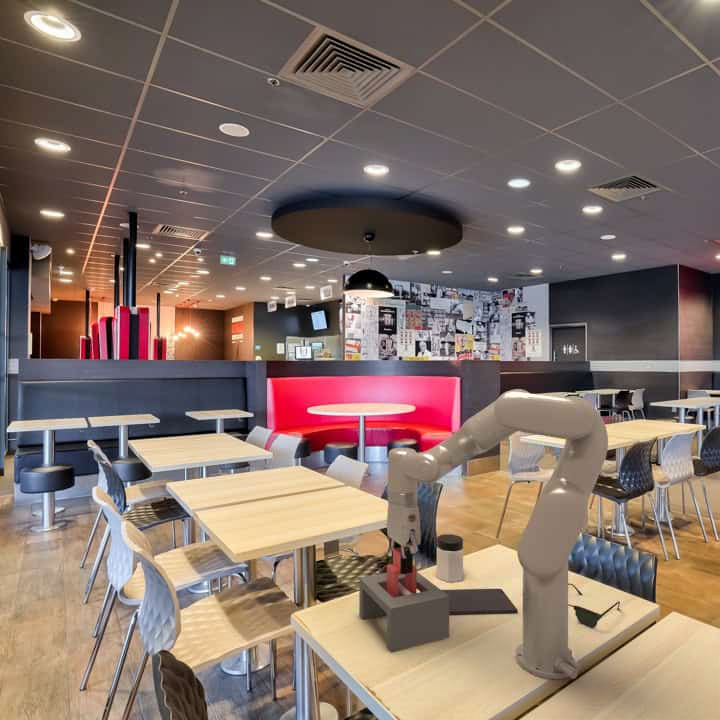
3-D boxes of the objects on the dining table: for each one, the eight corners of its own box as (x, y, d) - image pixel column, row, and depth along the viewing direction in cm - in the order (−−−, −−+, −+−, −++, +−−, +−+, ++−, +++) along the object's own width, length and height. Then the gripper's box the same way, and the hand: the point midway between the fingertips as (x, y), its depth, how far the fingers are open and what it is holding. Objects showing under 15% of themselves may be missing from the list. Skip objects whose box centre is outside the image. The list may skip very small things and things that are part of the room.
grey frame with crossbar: (449, 637, 119) (449, 595, 119) (390, 652, 113) (390, 608, 113) (412, 604, 135) (412, 568, 136) (359, 616, 129) (359, 577, 129)
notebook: (439, 617, 129) (517, 615, 131) (439, 611, 129) (517, 609, 131) (429, 595, 142) (501, 593, 143) (429, 589, 142) (501, 588, 143)
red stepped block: (416, 603, 124) (416, 551, 124) (393, 608, 121) (394, 554, 121) (408, 596, 127) (408, 545, 127) (386, 601, 125) (387, 549, 125)
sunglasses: (630, 614, 131) (630, 595, 131) (600, 635, 121) (600, 615, 121) (571, 592, 144) (571, 574, 144) (539, 609, 134) (539, 591, 134)
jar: (457, 570, 159) (457, 532, 159) (468, 580, 151) (468, 541, 151) (431, 572, 156) (431, 535, 157) (442, 583, 149) (442, 544, 149)
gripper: (432, 504, 118) (432, 580, 118) (399, 488, 134) (399, 555, 133) (405, 507, 115) (405, 585, 115) (375, 490, 131) (374, 559, 130)
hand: (401, 568), depth 124 cm, fingers closed on red stepped block, 4 cm apart
